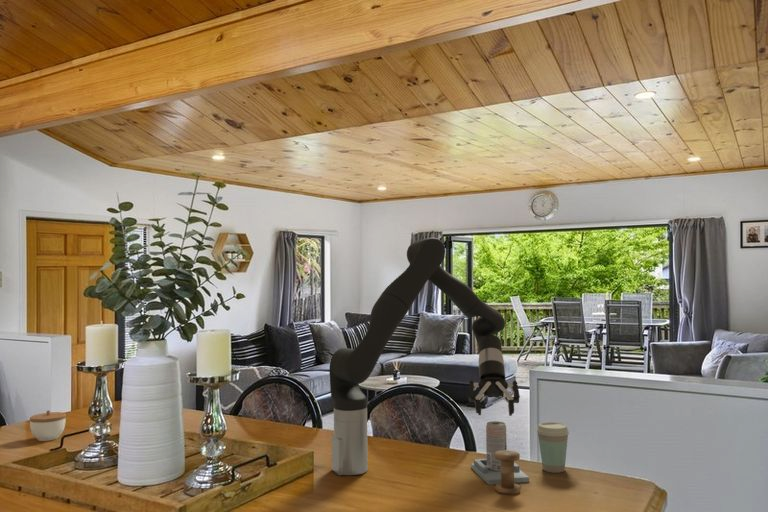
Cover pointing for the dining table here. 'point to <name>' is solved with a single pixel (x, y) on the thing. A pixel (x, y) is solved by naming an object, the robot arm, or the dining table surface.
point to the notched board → (496, 473)
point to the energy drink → (495, 443)
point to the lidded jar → (47, 425)
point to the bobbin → (507, 472)
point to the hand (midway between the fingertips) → (495, 414)
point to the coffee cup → (553, 445)
